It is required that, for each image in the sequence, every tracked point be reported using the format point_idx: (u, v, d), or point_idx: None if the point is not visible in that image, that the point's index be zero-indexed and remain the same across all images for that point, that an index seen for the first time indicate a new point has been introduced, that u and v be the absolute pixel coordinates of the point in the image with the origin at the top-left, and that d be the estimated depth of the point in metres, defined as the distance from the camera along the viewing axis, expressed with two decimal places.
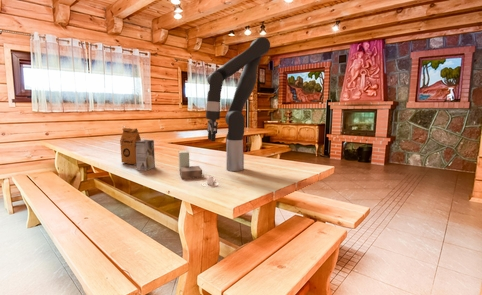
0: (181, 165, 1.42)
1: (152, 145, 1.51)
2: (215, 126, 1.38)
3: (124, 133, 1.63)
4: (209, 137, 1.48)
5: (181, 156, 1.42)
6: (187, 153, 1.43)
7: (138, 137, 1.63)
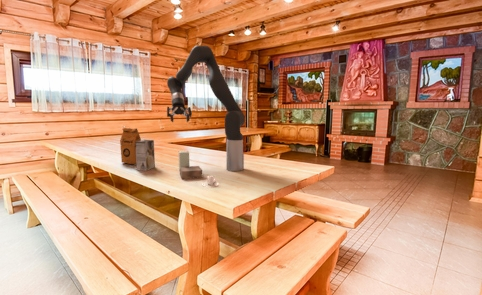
0: (181, 165, 1.42)
1: (152, 145, 1.51)
2: (167, 110, 1.56)
3: (124, 133, 1.63)
4: None
5: (181, 156, 1.42)
6: (187, 153, 1.43)
7: (138, 137, 1.63)
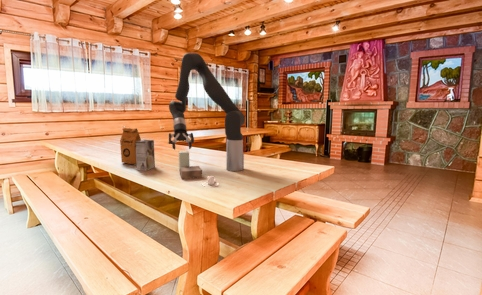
0: (181, 165, 1.42)
1: (152, 145, 1.51)
2: None
3: (124, 133, 1.63)
4: (189, 147, 1.53)
5: (181, 156, 1.42)
6: (187, 153, 1.43)
7: (138, 137, 1.63)
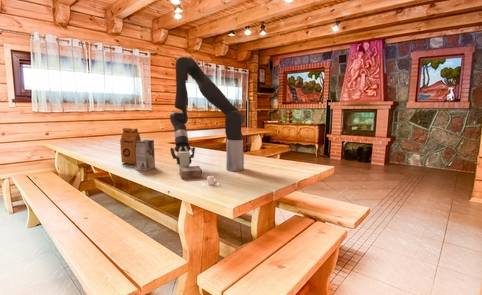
0: (181, 165, 1.42)
1: (152, 145, 1.51)
2: (171, 152, 1.46)
3: (124, 133, 1.63)
4: None
5: (180, 156, 1.42)
6: (187, 153, 1.42)
7: (138, 137, 1.63)
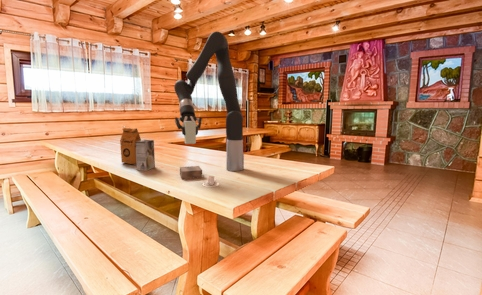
0: (187, 135, 1.30)
1: (152, 145, 1.51)
2: (176, 122, 1.33)
3: (124, 133, 1.63)
4: None
5: (186, 126, 1.29)
6: (193, 122, 1.30)
7: (138, 137, 1.63)
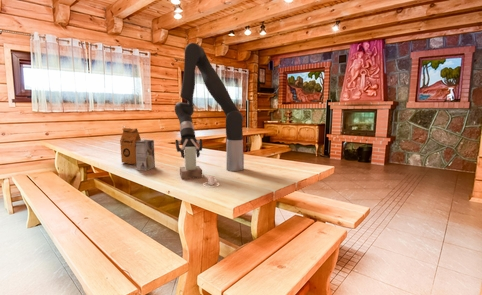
0: (187, 161, 1.32)
1: (152, 145, 1.51)
2: (176, 144, 1.35)
3: (124, 133, 1.63)
4: None
5: (187, 152, 1.31)
6: (194, 149, 1.32)
7: (138, 137, 1.63)
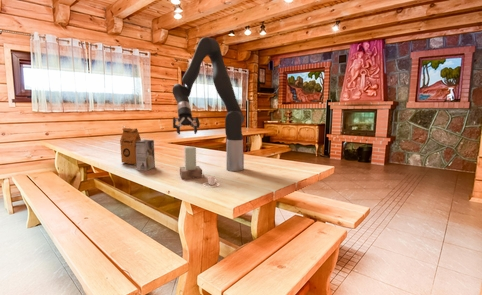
0: (187, 161, 1.32)
1: (152, 145, 1.51)
2: (173, 121, 1.44)
3: (124, 133, 1.63)
4: (194, 131, 1.44)
5: (187, 152, 1.31)
6: (194, 149, 1.32)
7: (138, 137, 1.63)
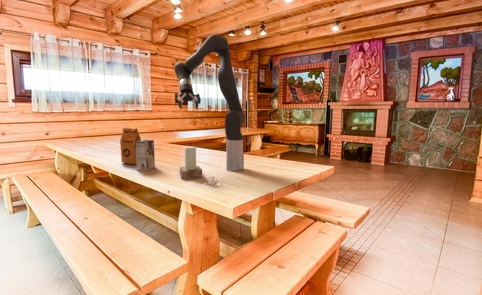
0: (187, 161, 1.32)
1: (152, 145, 1.51)
2: (175, 97, 1.49)
3: (124, 133, 1.63)
4: (195, 106, 1.49)
5: (187, 152, 1.31)
6: (194, 149, 1.32)
7: (138, 137, 1.63)
